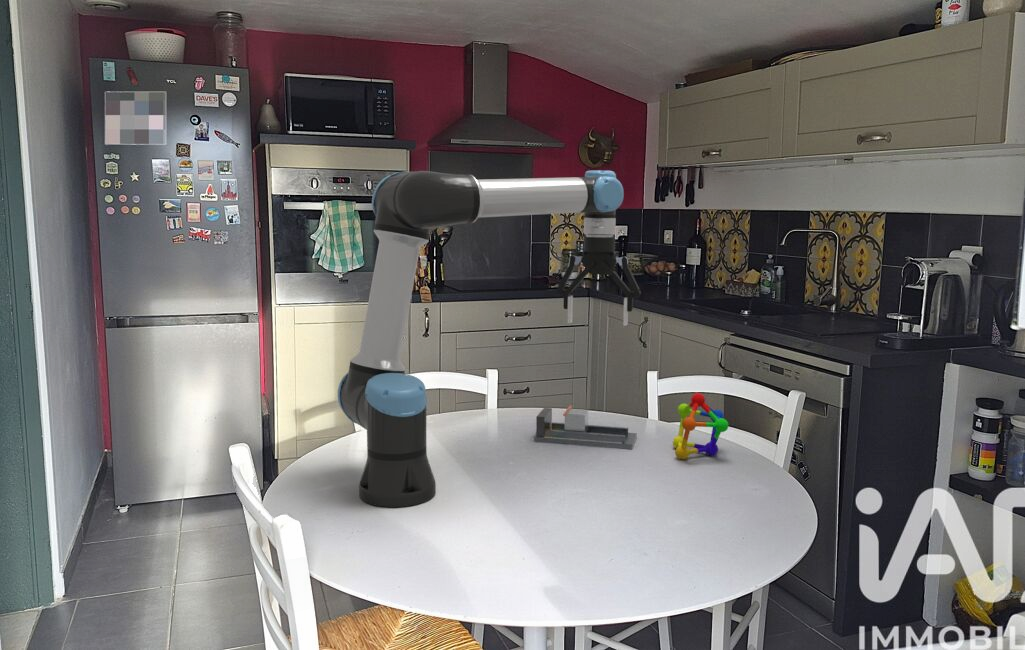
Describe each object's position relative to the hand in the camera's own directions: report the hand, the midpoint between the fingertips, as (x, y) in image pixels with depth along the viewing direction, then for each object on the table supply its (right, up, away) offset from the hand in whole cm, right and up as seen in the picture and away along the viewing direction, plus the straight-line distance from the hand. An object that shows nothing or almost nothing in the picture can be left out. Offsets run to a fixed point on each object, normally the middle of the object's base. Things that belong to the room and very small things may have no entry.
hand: (597, 323), depth 199 cm
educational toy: (+23, -31, -8) cm, 39 cm away
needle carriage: (-5, -27, +3) cm, 27 cm away
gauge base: (-3, -29, +3) cm, 29 cm away
